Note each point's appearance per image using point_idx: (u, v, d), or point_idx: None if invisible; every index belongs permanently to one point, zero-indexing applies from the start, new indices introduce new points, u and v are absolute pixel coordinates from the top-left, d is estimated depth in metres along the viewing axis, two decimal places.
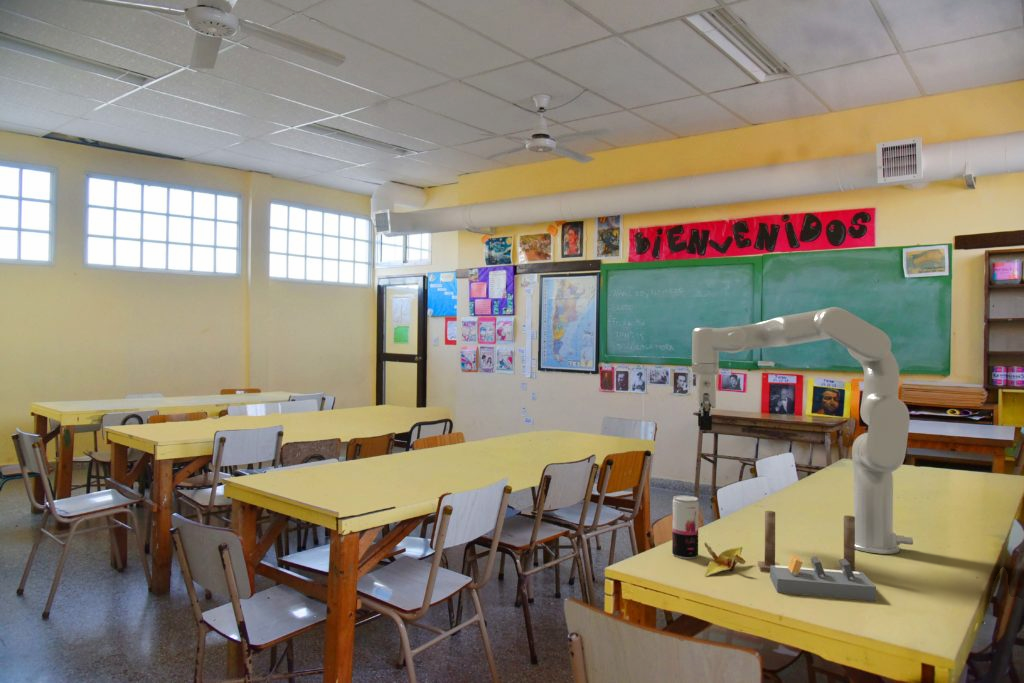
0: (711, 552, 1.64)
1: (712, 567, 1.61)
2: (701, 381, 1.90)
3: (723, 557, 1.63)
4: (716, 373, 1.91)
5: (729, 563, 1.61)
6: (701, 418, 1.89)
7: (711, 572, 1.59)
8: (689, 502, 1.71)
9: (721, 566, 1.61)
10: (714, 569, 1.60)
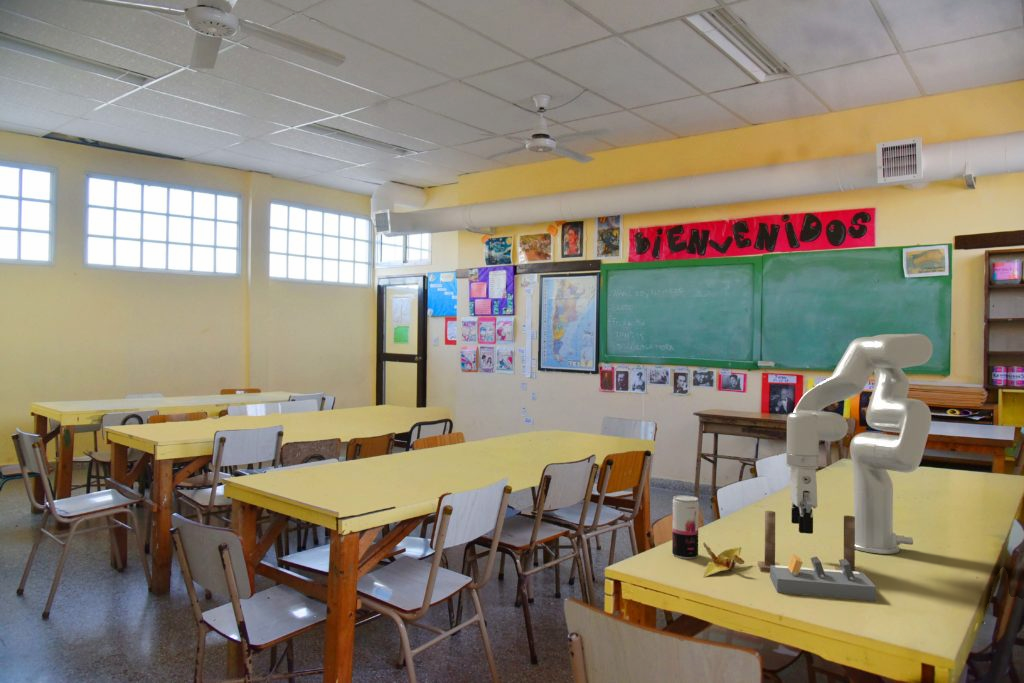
0: (710, 552, 1.64)
1: (711, 568, 1.60)
2: (800, 476, 1.66)
3: (722, 557, 1.62)
4: (816, 466, 1.67)
5: (728, 563, 1.61)
6: (800, 519, 1.65)
7: (710, 572, 1.58)
8: (689, 502, 1.71)
9: (720, 566, 1.61)
10: (713, 570, 1.60)
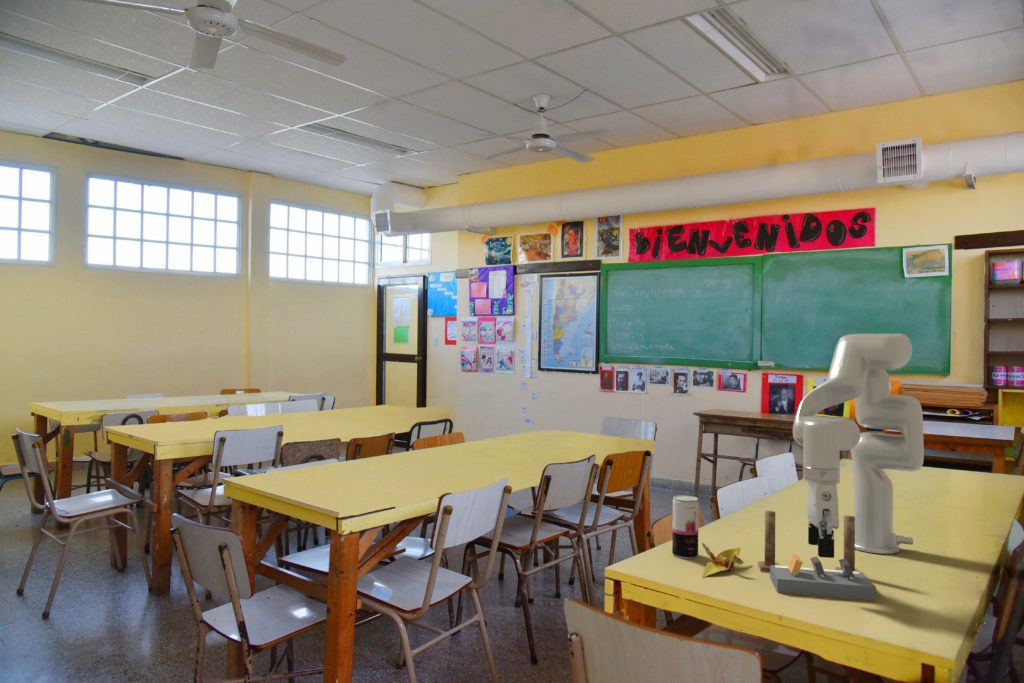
0: (709, 553, 1.64)
1: (710, 568, 1.60)
2: (819, 493, 1.46)
3: (721, 558, 1.62)
4: (837, 481, 1.48)
5: (727, 563, 1.61)
6: (820, 541, 1.45)
7: (709, 573, 1.58)
8: (689, 502, 1.71)
9: (719, 566, 1.61)
10: (712, 570, 1.59)
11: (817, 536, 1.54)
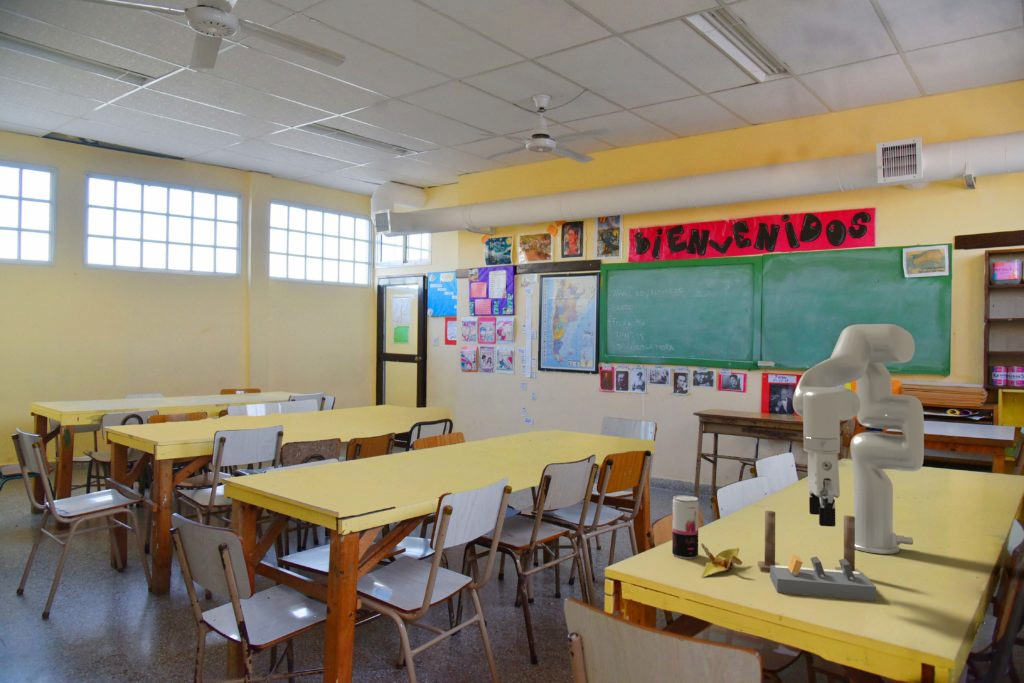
0: (708, 553, 1.63)
1: (709, 568, 1.60)
2: (820, 462, 1.46)
3: (720, 558, 1.62)
4: (838, 451, 1.48)
5: (726, 564, 1.60)
6: (821, 511, 1.46)
7: (708, 573, 1.58)
8: (689, 502, 1.71)
9: (718, 567, 1.61)
10: (711, 570, 1.59)
11: (818, 506, 1.55)
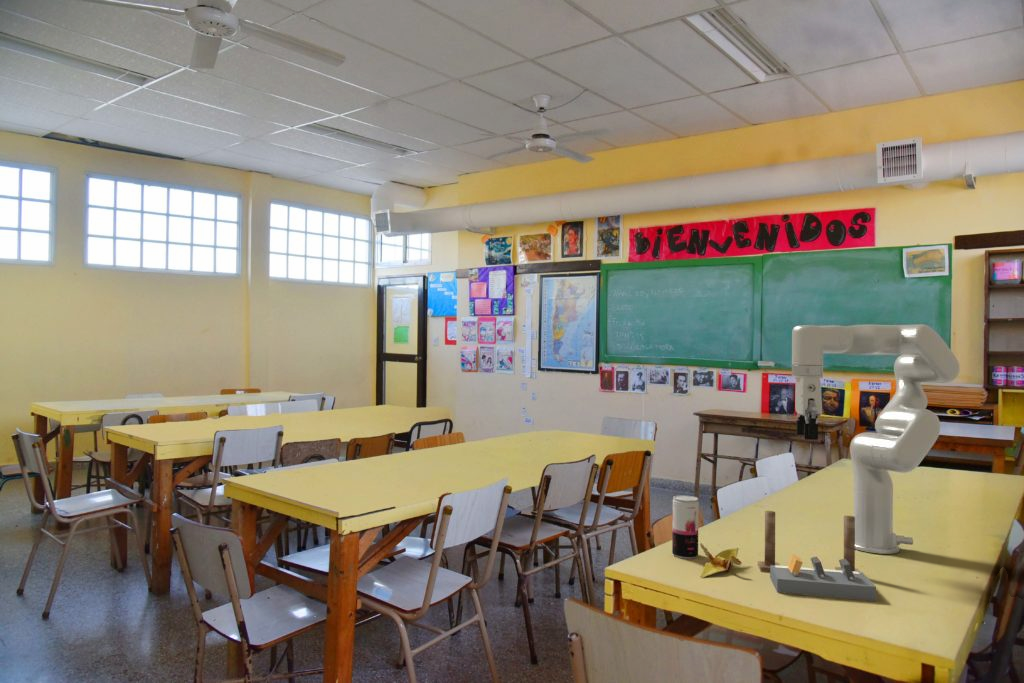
0: (707, 553, 1.63)
1: (708, 569, 1.60)
2: (805, 385, 1.71)
3: (719, 558, 1.62)
4: (821, 376, 1.72)
5: (725, 564, 1.60)
6: (806, 426, 1.70)
7: (707, 573, 1.58)
8: (689, 502, 1.71)
9: (717, 567, 1.60)
10: (710, 570, 1.59)
11: (804, 427, 1.79)
